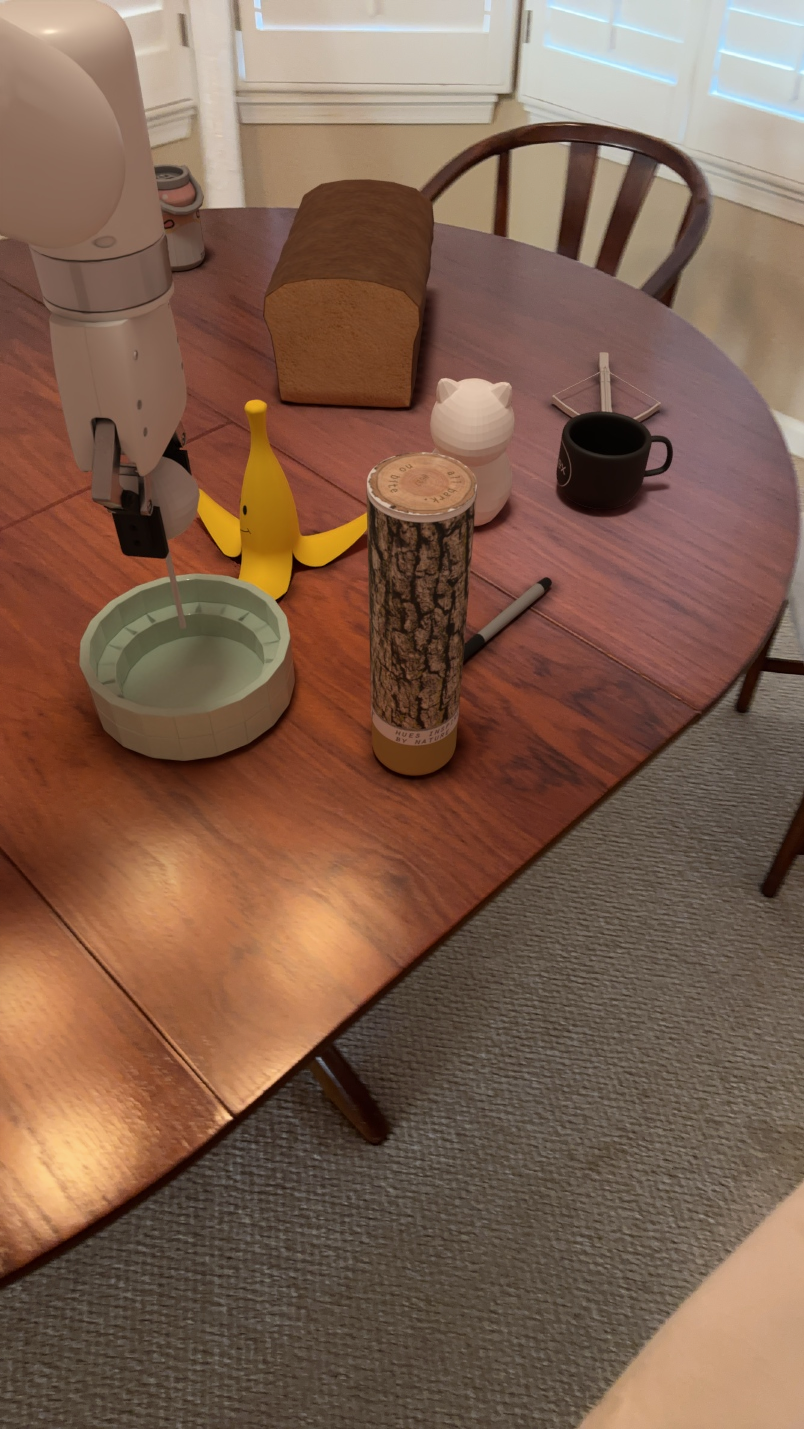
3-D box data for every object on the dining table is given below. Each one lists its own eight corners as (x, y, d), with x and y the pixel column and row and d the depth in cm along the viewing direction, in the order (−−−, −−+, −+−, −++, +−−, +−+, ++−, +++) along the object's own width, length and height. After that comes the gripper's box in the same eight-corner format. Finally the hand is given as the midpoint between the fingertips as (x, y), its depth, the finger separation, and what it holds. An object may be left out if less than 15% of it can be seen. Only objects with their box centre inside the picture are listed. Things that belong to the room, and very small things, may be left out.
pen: (552, 589, 90) (554, 578, 89) (444, 682, 81) (445, 671, 80) (541, 583, 90) (543, 572, 89) (432, 675, 82) (433, 664, 81)
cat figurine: (418, 536, 95) (422, 399, 84) (429, 467, 103) (434, 334, 92) (507, 543, 94) (523, 406, 83) (511, 473, 103) (526, 340, 92)
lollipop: (160, 663, 72) (119, 497, 61) (132, 619, 75) (88, 454, 64) (234, 634, 74) (207, 469, 63) (204, 592, 77) (173, 429, 66)
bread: (433, 300, 131) (438, 173, 119) (421, 412, 111) (425, 273, 99) (304, 295, 132) (295, 168, 120) (268, 405, 112) (254, 266, 100)
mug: (564, 520, 97) (574, 460, 92) (545, 471, 103) (553, 412, 98) (677, 514, 98) (693, 453, 93) (652, 465, 104) (666, 406, 99)
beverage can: (222, 263, 139) (211, 173, 130) (176, 280, 135) (161, 189, 126) (183, 245, 143) (170, 157, 134) (138, 261, 139) (121, 172, 130)
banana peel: (237, 636, 84) (210, 475, 72) (193, 517, 96) (164, 362, 84) (409, 596, 88) (413, 437, 76) (347, 486, 100) (341, 333, 88)
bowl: (68, 756, 75) (47, 705, 71) (131, 618, 86) (117, 566, 82) (272, 776, 74) (265, 725, 70) (310, 633, 85) (306, 581, 81)
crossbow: (660, 441, 109) (664, 426, 107) (550, 434, 109) (552, 418, 108) (652, 366, 119) (656, 350, 117) (551, 359, 119) (554, 344, 118)
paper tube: (471, 737, 77) (497, 473, 58) (427, 793, 73) (441, 528, 55) (400, 704, 79) (404, 440, 61) (355, 756, 75) (344, 491, 57)
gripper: (91, 208, 60) (145, 455, 73) (-21, 333, 49) (67, 599, 62) (206, 214, 60) (239, 462, 73) (120, 342, 48) (178, 609, 61)
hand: (160, 523), depth 67 cm, fingers closed on lollipop, 6 cm apart
